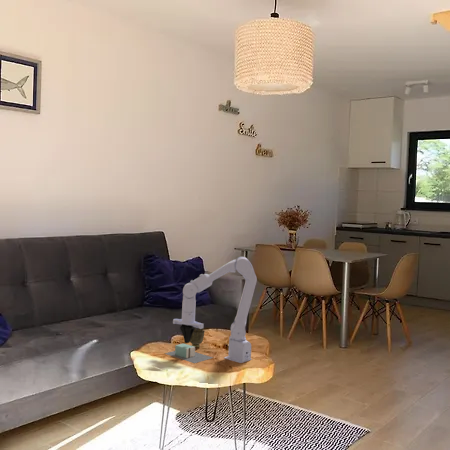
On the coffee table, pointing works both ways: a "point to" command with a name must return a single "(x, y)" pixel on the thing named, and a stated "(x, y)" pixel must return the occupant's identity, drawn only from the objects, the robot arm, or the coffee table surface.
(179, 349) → the block
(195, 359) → the mat
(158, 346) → the coffee table surface
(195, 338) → the cup
